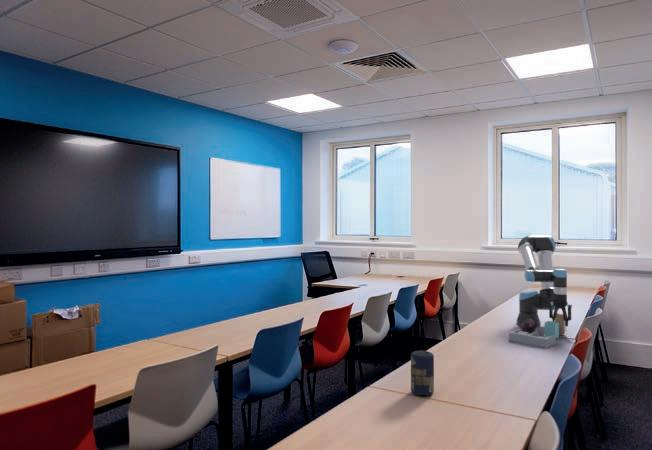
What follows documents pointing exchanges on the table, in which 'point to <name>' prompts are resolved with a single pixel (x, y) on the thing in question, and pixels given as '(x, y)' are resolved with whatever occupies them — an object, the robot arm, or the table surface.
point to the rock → (528, 326)
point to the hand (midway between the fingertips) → (560, 330)
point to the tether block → (555, 326)
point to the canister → (422, 372)
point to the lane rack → (532, 339)
